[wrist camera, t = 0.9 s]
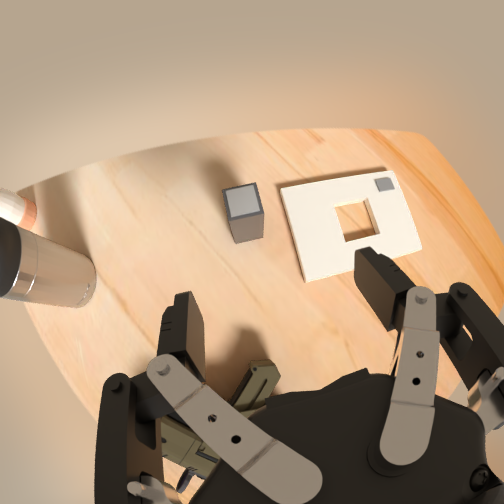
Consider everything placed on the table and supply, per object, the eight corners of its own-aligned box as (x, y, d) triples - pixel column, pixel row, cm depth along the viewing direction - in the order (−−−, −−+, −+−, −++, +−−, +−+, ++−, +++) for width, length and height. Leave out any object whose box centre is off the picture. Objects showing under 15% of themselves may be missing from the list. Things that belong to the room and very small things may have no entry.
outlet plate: (304, 282, 37) (307, 281, 35) (279, 192, 41) (280, 187, 39) (417, 251, 38) (423, 248, 36) (389, 174, 41) (393, 169, 39)
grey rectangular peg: (235, 243, 39) (228, 220, 29) (230, 218, 40) (221, 188, 30) (262, 237, 39) (264, 212, 29) (256, 212, 40) (255, 181, 30)
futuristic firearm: (196, 321, 30) (114, 467, 23) (397, 415, 29) (307, 533, 23) (201, 320, 37) (129, 447, 30) (373, 403, 36) (296, 511, 30)
